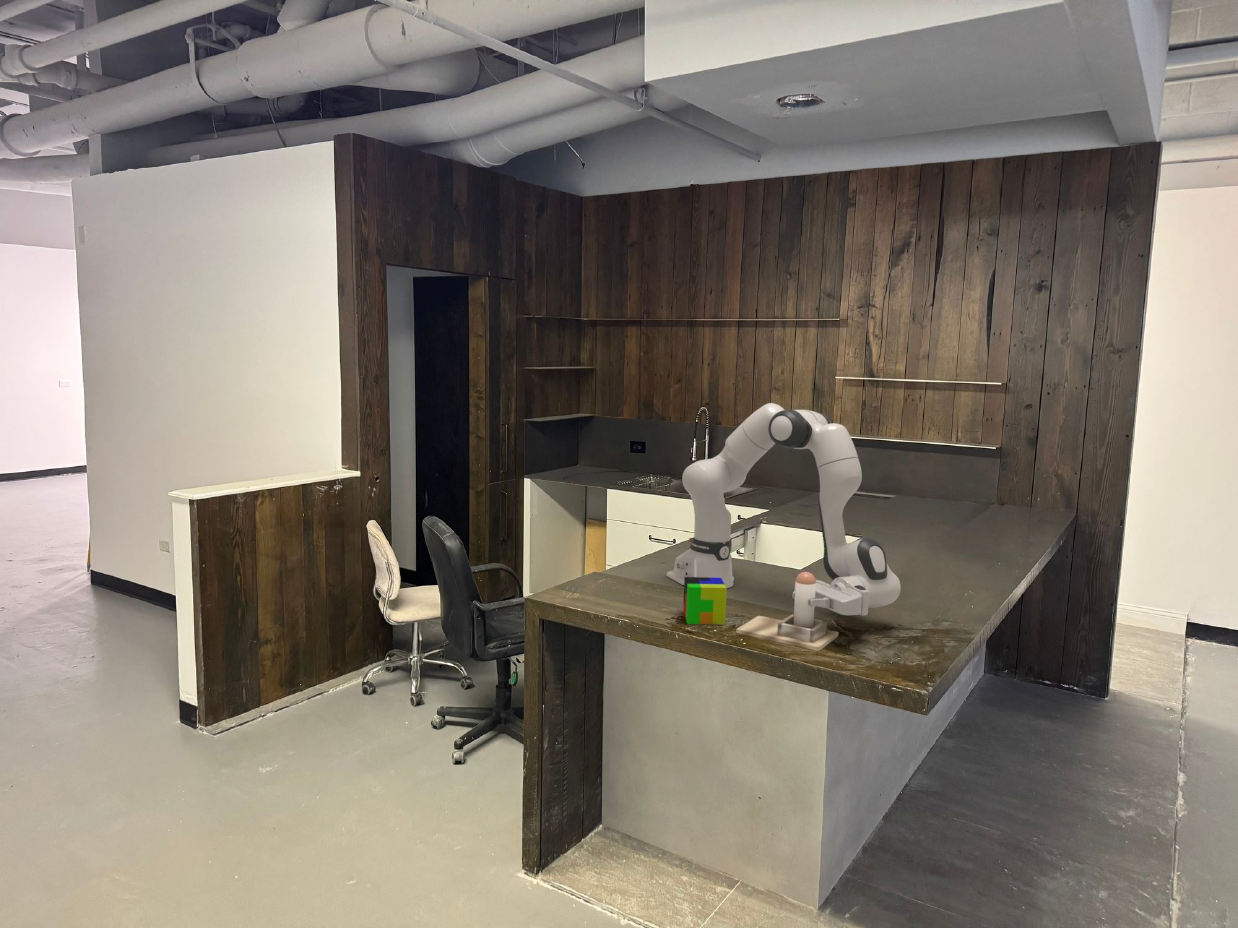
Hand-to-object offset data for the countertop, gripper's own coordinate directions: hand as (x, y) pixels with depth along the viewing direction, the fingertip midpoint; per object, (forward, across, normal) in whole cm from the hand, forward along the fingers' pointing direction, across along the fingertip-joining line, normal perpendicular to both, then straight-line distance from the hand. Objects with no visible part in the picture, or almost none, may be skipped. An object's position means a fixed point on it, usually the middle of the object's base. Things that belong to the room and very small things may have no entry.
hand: (801, 599), depth 214 cm
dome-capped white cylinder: (-1, 0, +8) cm, 8 cm away
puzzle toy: (+15, -22, +10) cm, 29 cm away
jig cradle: (+1, -4, +10) cm, 11 cm away
